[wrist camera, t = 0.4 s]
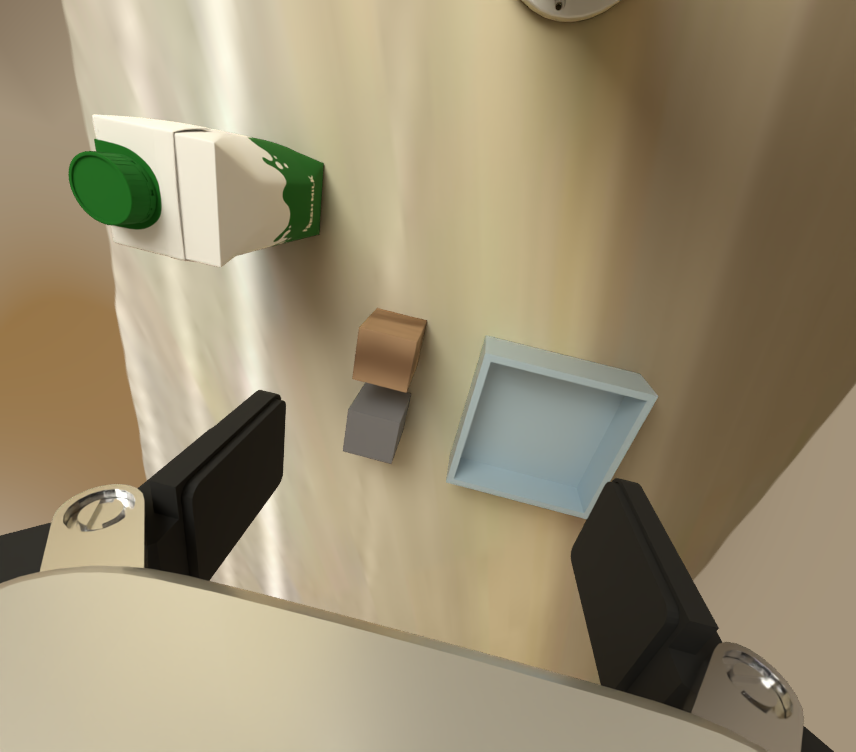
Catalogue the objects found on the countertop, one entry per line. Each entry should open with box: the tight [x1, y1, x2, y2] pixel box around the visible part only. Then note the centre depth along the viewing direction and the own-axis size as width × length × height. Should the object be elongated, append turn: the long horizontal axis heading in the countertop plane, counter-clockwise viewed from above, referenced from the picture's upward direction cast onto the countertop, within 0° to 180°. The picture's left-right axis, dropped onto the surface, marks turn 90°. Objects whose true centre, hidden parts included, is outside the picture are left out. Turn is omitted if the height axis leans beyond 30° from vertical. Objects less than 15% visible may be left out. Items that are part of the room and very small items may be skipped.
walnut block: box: [352, 308, 427, 393], centre depth 43 cm, size 6×6×7 cm
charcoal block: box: [343, 383, 411, 464], centre depth 47 cm, size 6×6×7 cm
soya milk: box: [69, 115, 324, 267], centre depth 32 cm, size 9×9×20 cm
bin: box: [446, 336, 658, 519], centre depth 46 cm, size 18×18×5 cm
